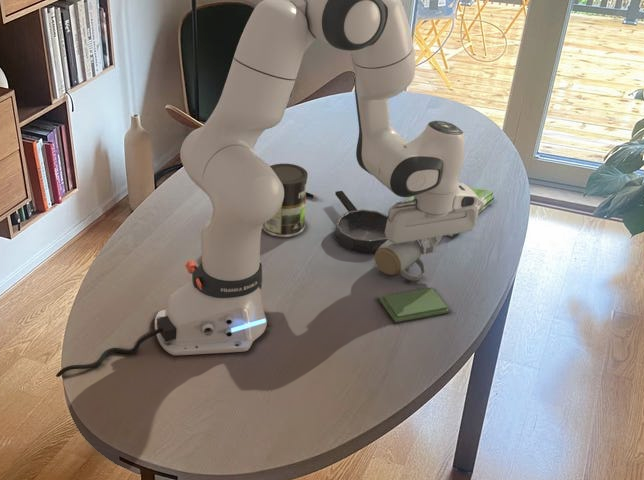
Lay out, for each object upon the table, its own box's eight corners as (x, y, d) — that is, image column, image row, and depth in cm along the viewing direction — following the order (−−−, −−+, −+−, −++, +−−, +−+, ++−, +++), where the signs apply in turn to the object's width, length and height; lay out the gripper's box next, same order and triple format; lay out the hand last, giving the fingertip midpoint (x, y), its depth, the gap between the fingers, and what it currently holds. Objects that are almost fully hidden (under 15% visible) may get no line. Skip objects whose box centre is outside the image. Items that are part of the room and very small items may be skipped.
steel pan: (349, 257, 186) (350, 244, 184) (312, 205, 204) (312, 193, 202) (404, 248, 189) (406, 235, 187) (363, 198, 207) (364, 186, 205)
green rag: (395, 322, 166) (395, 317, 166) (379, 300, 173) (379, 295, 172) (448, 312, 169) (449, 307, 169) (430, 291, 175) (431, 286, 175)
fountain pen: (320, 199, 207) (320, 194, 206) (317, 201, 206) (317, 196, 205) (272, 183, 213) (272, 178, 212) (269, 185, 212) (270, 180, 211)
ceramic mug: (371, 270, 181) (373, 241, 177) (392, 254, 186) (394, 225, 181) (411, 288, 176) (414, 259, 171) (432, 271, 180) (436, 242, 176)
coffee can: (307, 217, 199) (310, 165, 191) (301, 239, 191) (303, 186, 183) (266, 213, 201) (267, 160, 192) (257, 234, 193) (258, 181, 184)
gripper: (396, 211, 167) (389, 267, 175) (485, 196, 171) (475, 252, 180) (383, 196, 171) (377, 252, 180) (471, 183, 176) (461, 237, 185)
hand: (426, 252), depth 180 cm, fingers closed
